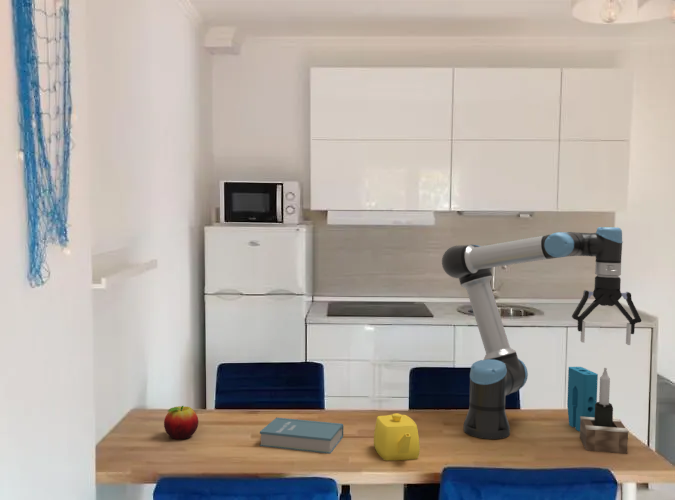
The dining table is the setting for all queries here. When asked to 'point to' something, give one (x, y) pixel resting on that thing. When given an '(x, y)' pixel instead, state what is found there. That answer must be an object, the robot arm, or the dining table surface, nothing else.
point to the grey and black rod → (604, 403)
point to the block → (581, 395)
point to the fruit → (181, 422)
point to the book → (302, 435)
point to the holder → (603, 436)
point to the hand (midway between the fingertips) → (605, 343)
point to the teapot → (396, 437)
